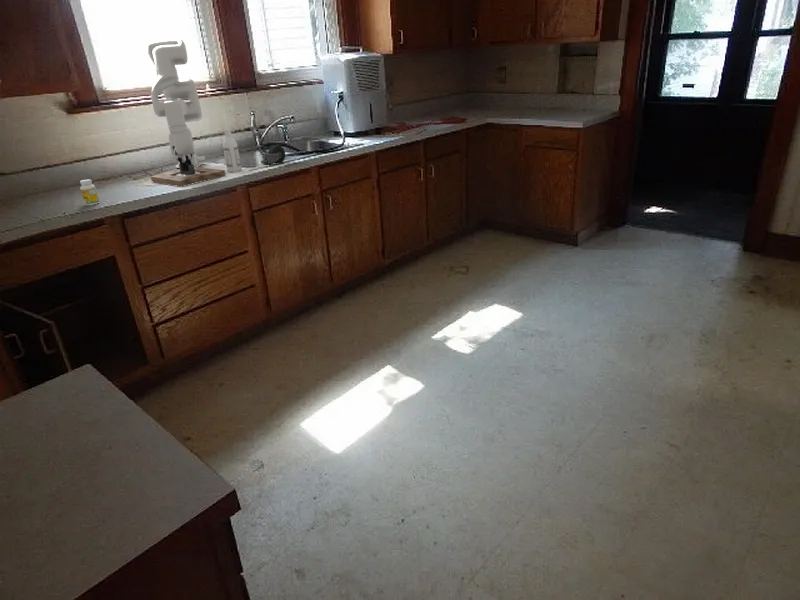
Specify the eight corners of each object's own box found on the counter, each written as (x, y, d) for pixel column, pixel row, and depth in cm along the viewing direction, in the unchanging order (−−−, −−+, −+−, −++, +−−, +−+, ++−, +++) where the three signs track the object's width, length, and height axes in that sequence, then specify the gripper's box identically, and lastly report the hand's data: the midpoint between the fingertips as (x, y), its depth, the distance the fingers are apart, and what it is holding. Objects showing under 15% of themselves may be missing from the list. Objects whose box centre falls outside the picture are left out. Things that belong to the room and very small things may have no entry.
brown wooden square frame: (196, 171, 266) (195, 166, 265) (225, 175, 253) (224, 169, 251) (152, 181, 249) (150, 175, 248) (180, 186, 236) (179, 180, 234)
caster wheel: (280, 163, 278) (258, 166, 267) (279, 144, 275) (256, 146, 264) (288, 164, 275) (265, 167, 264) (286, 144, 272) (264, 146, 260)
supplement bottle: (102, 203, 216) (95, 179, 212) (89, 206, 212) (81, 182, 208) (95, 201, 219) (88, 178, 215) (82, 204, 215) (75, 181, 211)
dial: (191, 174, 258) (188, 161, 255) (206, 176, 252) (203, 162, 249) (171, 179, 249) (168, 165, 247) (187, 181, 244) (183, 167, 241)
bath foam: (240, 168, 266) (233, 127, 257) (243, 171, 260) (235, 128, 252) (226, 170, 263) (218, 128, 255) (228, 173, 258) (220, 130, 249)
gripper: (184, 126, 249) (193, 166, 257) (158, 132, 236) (168, 173, 244) (196, 126, 246) (205, 166, 254) (171, 132, 233) (180, 174, 241)
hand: (187, 169), depth 249 cm, fingers closed on dial, 2 cm apart
